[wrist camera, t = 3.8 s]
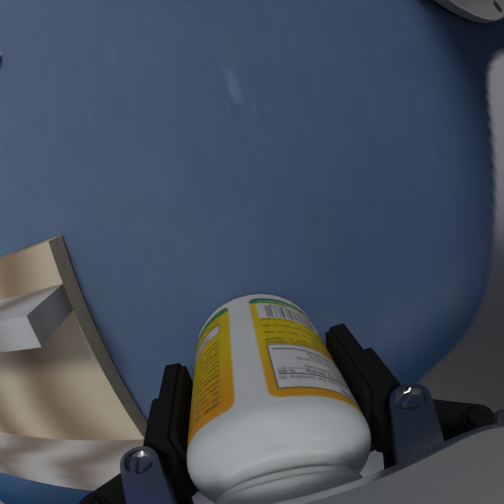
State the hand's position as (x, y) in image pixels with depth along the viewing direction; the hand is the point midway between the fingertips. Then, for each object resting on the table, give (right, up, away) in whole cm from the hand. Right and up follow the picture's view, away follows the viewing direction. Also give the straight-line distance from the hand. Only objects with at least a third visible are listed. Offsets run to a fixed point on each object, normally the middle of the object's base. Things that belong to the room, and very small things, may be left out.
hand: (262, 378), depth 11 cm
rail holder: (-17, -3, +2) cm, 17 cm away
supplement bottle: (0, +1, +3) cm, 3 cm away
